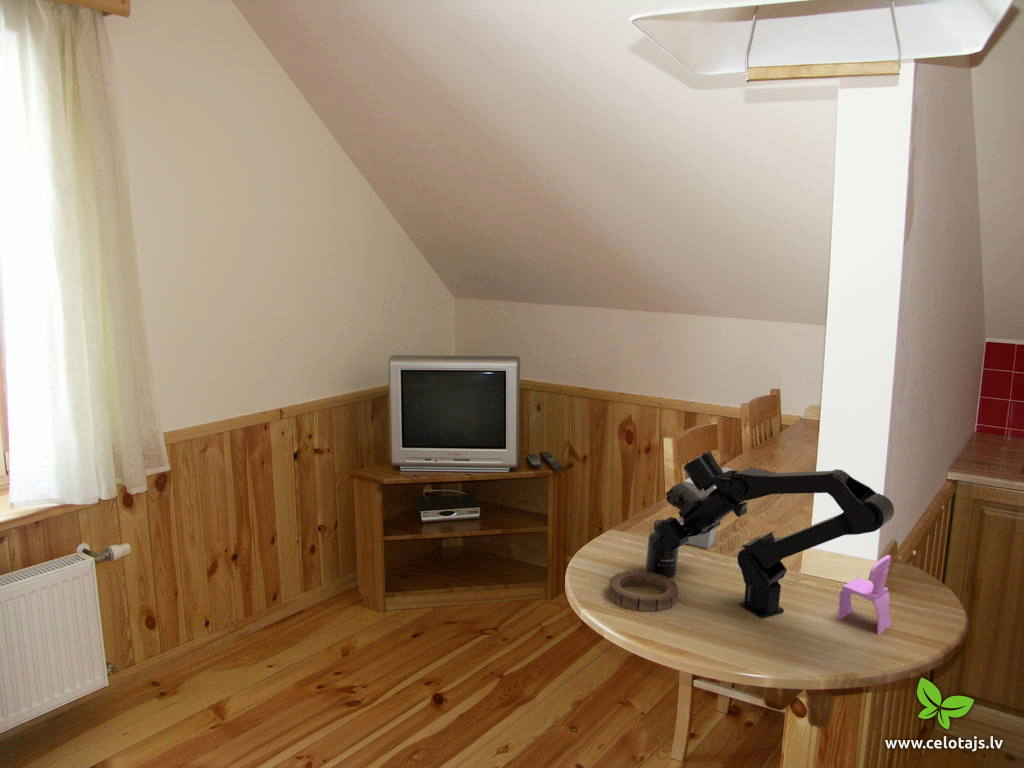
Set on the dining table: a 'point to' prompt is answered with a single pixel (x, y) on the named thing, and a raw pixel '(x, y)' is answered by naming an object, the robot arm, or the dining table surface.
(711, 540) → the skincare box
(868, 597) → the toy chair
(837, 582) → the dining table surface
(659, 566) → the supplement bottle
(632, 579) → the segmented ring
